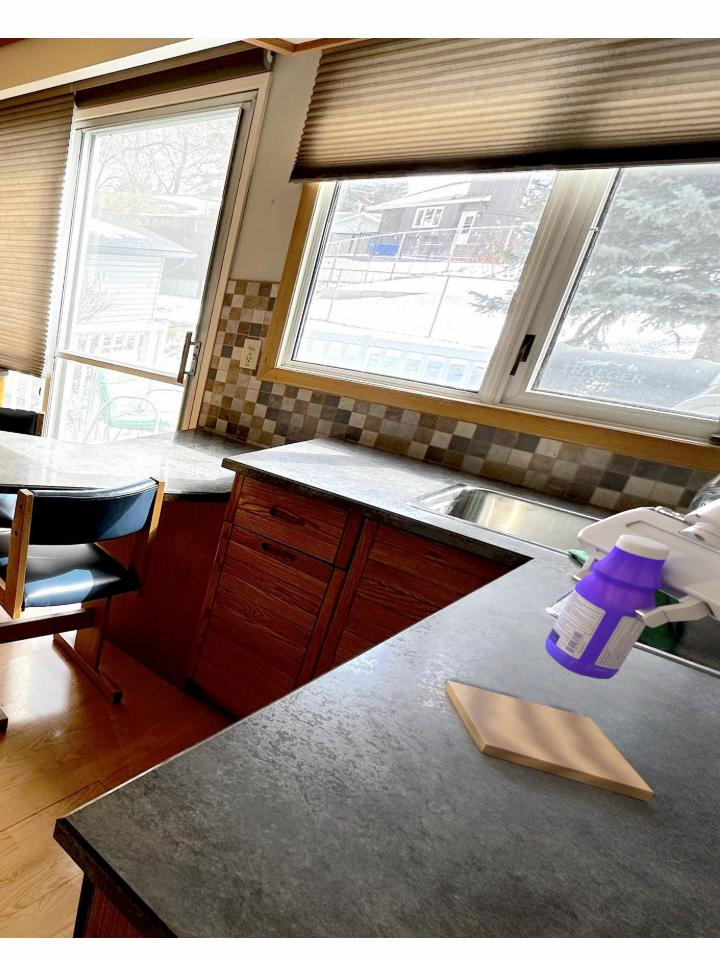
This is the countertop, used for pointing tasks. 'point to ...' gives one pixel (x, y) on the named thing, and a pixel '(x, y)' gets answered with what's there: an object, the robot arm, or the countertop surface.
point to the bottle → (608, 609)
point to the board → (545, 740)
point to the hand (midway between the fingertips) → (607, 600)
